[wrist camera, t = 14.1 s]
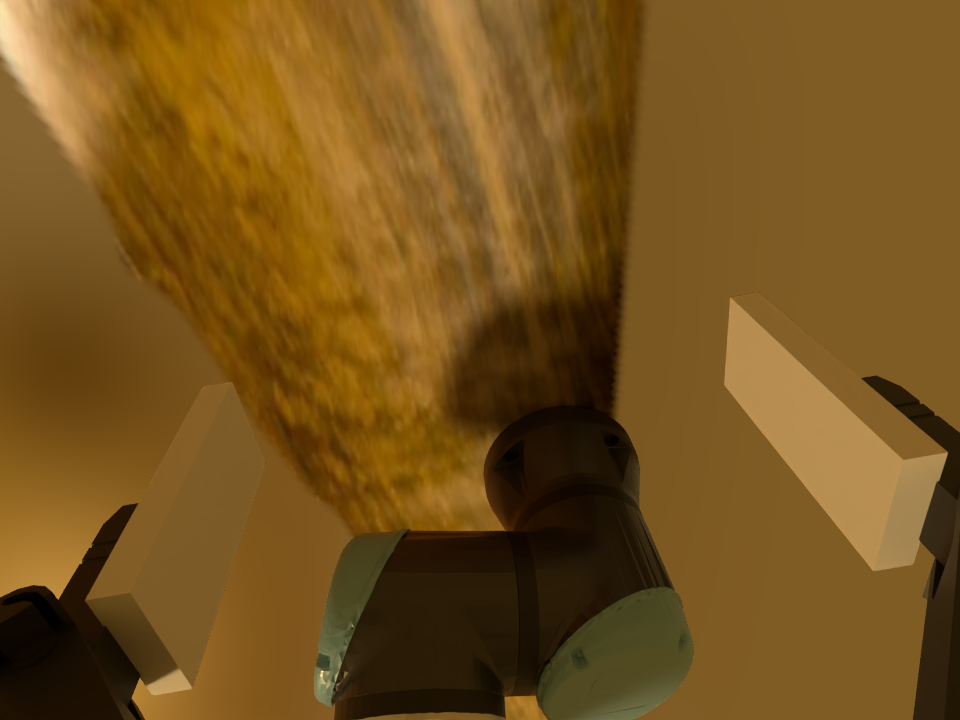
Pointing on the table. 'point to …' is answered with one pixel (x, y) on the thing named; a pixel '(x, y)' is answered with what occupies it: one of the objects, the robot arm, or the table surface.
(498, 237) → the table surface
